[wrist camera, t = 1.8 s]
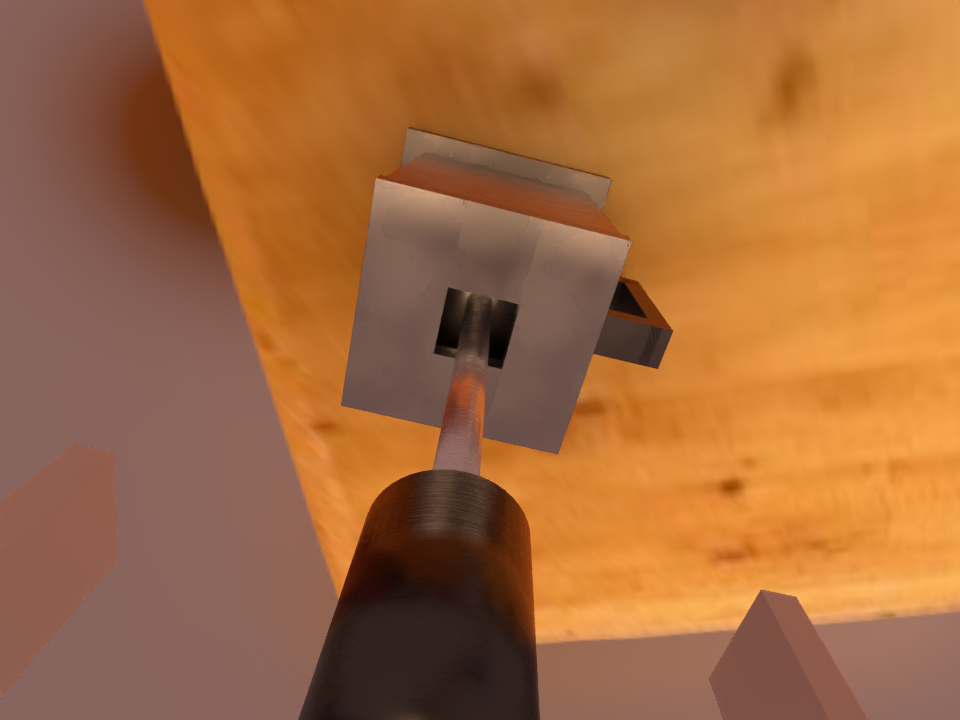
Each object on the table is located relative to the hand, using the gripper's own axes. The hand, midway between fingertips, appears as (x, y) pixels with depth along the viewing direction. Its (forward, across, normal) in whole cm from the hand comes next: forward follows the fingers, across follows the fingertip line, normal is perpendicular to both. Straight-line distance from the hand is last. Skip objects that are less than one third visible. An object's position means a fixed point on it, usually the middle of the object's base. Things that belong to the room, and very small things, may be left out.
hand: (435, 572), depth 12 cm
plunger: (+18, 0, 0) cm, 18 cm away
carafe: (+27, +2, 0) cm, 27 cm away
